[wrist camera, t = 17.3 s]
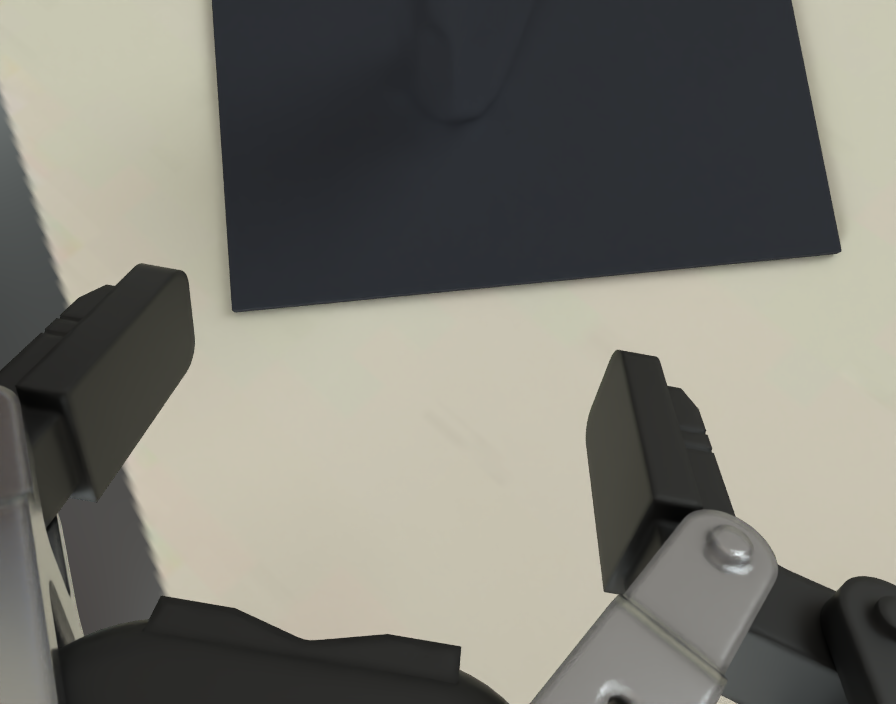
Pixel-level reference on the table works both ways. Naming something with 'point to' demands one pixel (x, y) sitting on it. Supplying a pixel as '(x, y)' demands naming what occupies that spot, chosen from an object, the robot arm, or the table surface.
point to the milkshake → (457, 52)
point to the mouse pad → (513, 151)
